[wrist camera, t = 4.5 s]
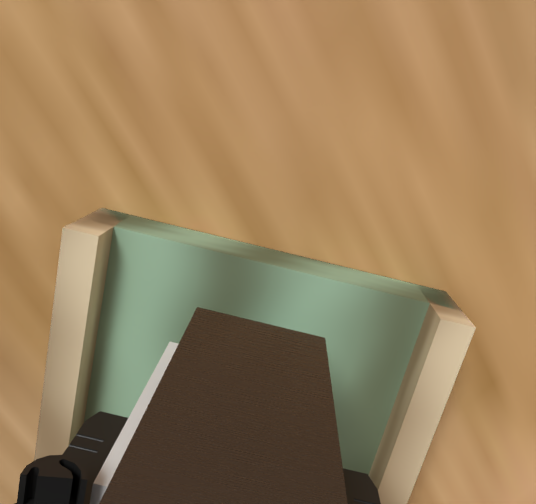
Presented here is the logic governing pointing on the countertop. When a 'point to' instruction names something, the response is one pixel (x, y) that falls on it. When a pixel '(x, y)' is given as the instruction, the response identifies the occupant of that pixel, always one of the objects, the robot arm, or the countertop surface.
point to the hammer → (236, 421)
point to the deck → (253, 308)
